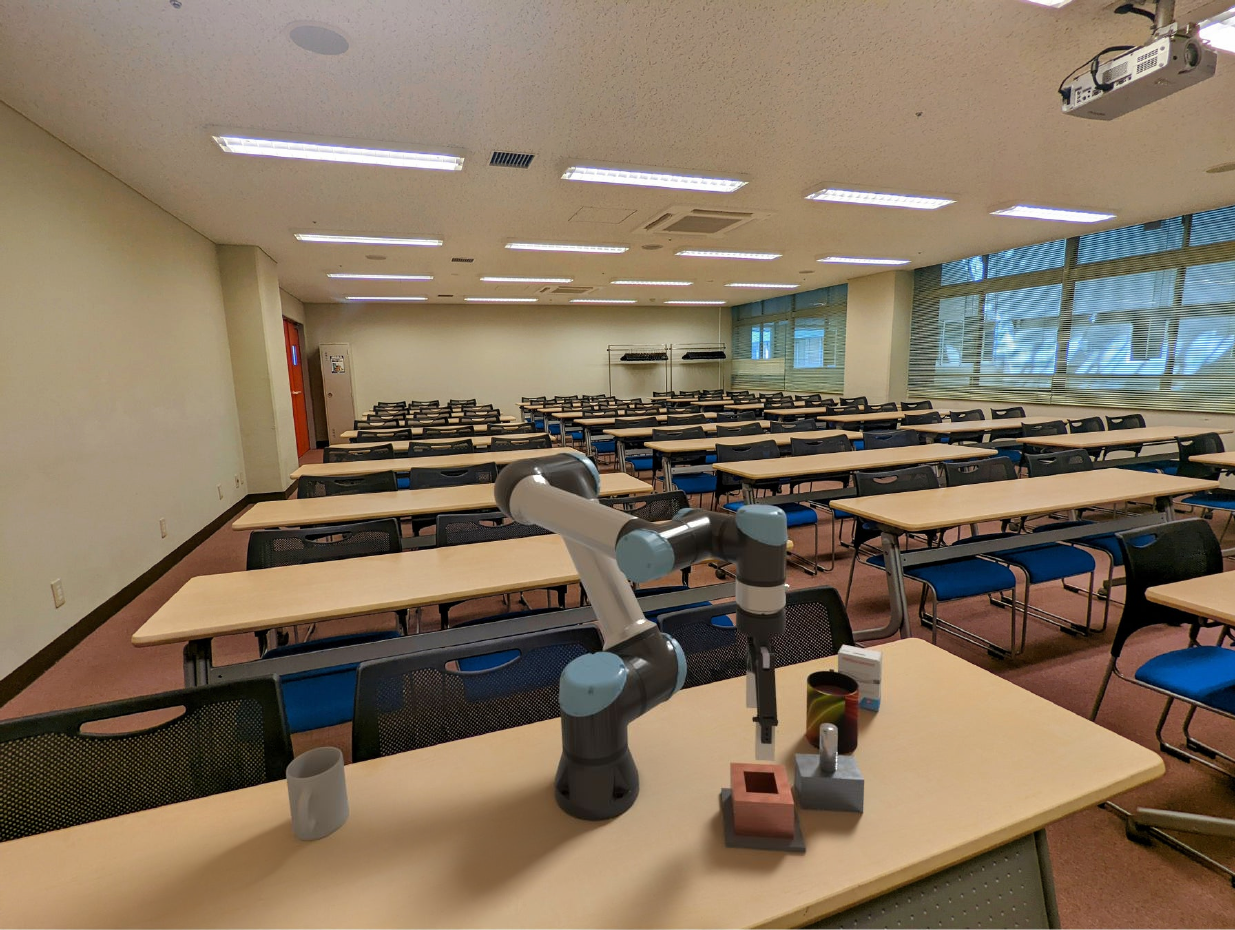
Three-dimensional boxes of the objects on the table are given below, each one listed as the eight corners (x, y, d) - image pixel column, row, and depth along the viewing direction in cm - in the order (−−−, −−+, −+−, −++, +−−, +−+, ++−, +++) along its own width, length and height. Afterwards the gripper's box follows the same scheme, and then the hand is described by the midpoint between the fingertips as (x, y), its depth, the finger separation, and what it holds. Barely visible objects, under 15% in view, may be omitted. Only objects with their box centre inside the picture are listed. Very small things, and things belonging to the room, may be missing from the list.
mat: (725, 847, 88) (725, 842, 87) (721, 792, 99) (721, 787, 99) (805, 852, 86) (805, 847, 86) (791, 796, 98) (791, 791, 98)
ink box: (881, 701, 126) (883, 651, 124) (878, 712, 121) (879, 661, 120) (840, 691, 130) (842, 643, 128) (836, 701, 126) (837, 652, 124)
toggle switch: (800, 809, 95) (801, 737, 93) (794, 784, 101) (794, 716, 99) (863, 812, 93) (865, 740, 92) (852, 787, 99) (854, 718, 98)
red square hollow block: (734, 835, 89) (734, 800, 88) (730, 794, 98) (730, 762, 97) (793, 839, 88) (794, 804, 87) (784, 797, 96) (784, 765, 96)
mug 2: (832, 711, 122) (833, 659, 121) (867, 751, 109) (869, 693, 107) (789, 715, 121) (790, 663, 120) (819, 757, 108) (820, 698, 106)
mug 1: (302, 808, 99) (295, 750, 98) (354, 799, 101) (348, 742, 99) (277, 863, 87) (268, 799, 86) (336, 852, 89) (329, 789, 88)
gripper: (801, 642, 75) (798, 787, 78) (773, 578, 99) (771, 690, 102) (743, 640, 76) (742, 784, 79) (730, 577, 100) (729, 688, 103)
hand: (759, 731), depth 91 cm, fingers open, 13 cm apart
